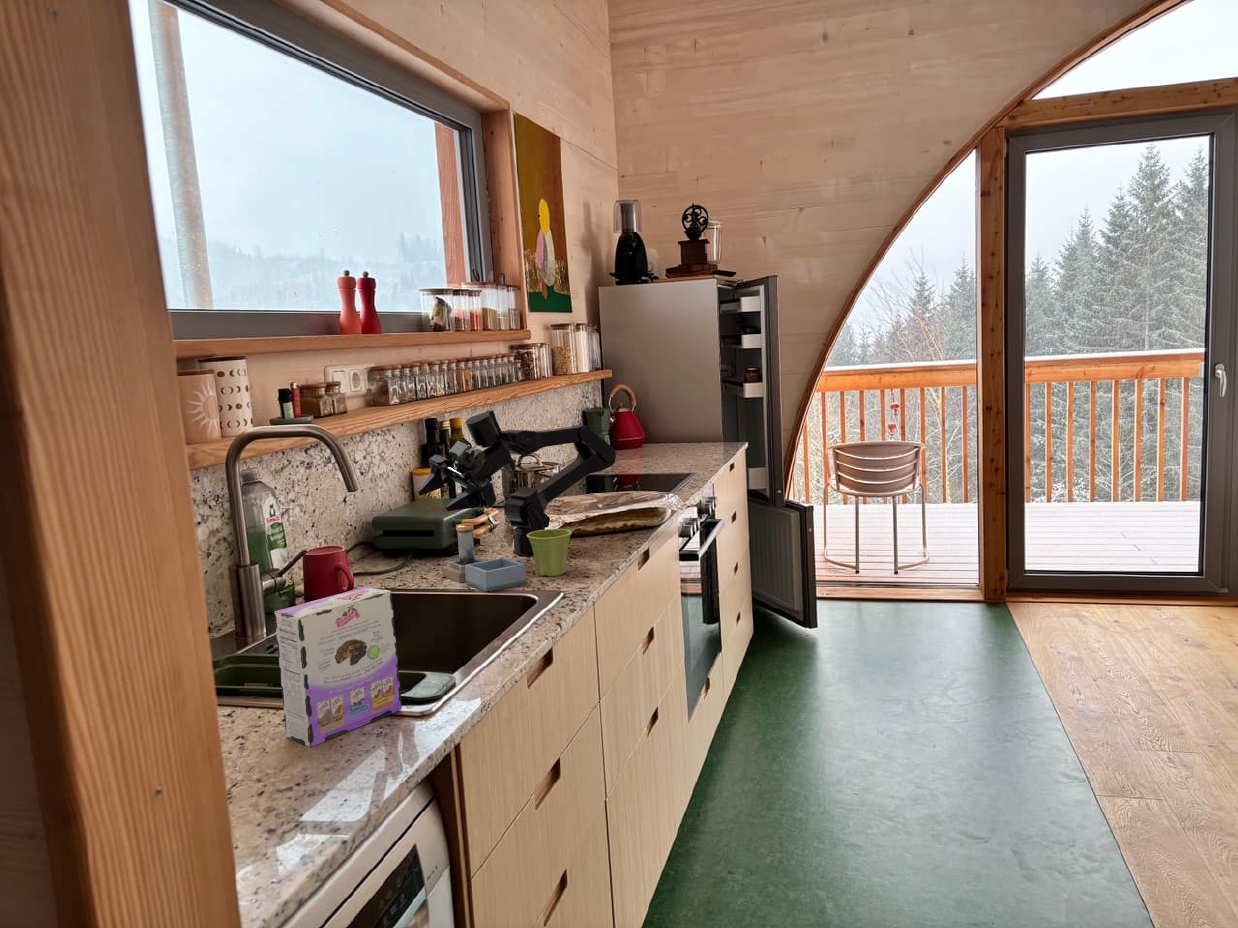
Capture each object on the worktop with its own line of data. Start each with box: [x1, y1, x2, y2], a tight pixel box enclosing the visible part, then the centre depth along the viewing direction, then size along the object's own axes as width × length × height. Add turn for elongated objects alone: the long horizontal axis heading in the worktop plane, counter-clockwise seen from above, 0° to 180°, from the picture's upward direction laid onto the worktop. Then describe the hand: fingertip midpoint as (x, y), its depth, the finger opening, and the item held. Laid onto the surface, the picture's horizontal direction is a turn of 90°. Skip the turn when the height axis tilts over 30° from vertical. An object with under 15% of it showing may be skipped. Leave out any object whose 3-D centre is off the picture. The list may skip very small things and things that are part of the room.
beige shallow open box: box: [441, 557, 484, 583], centre depth 195 cm, size 8×8×3 cm
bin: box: [465, 557, 527, 592], centre depth 187 cm, size 9×9×4 cm
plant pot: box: [527, 528, 573, 577], centre depth 193 cm, size 9×9×9 cm
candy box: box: [274, 585, 403, 748], centre depth 117 cm, size 14×6×16 cm, turn 140°
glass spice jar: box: [455, 522, 476, 566], centre depth 194 cm, size 4×4×9 cm
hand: (432, 501), depth 196 cm, fingers open, 9 cm apart
